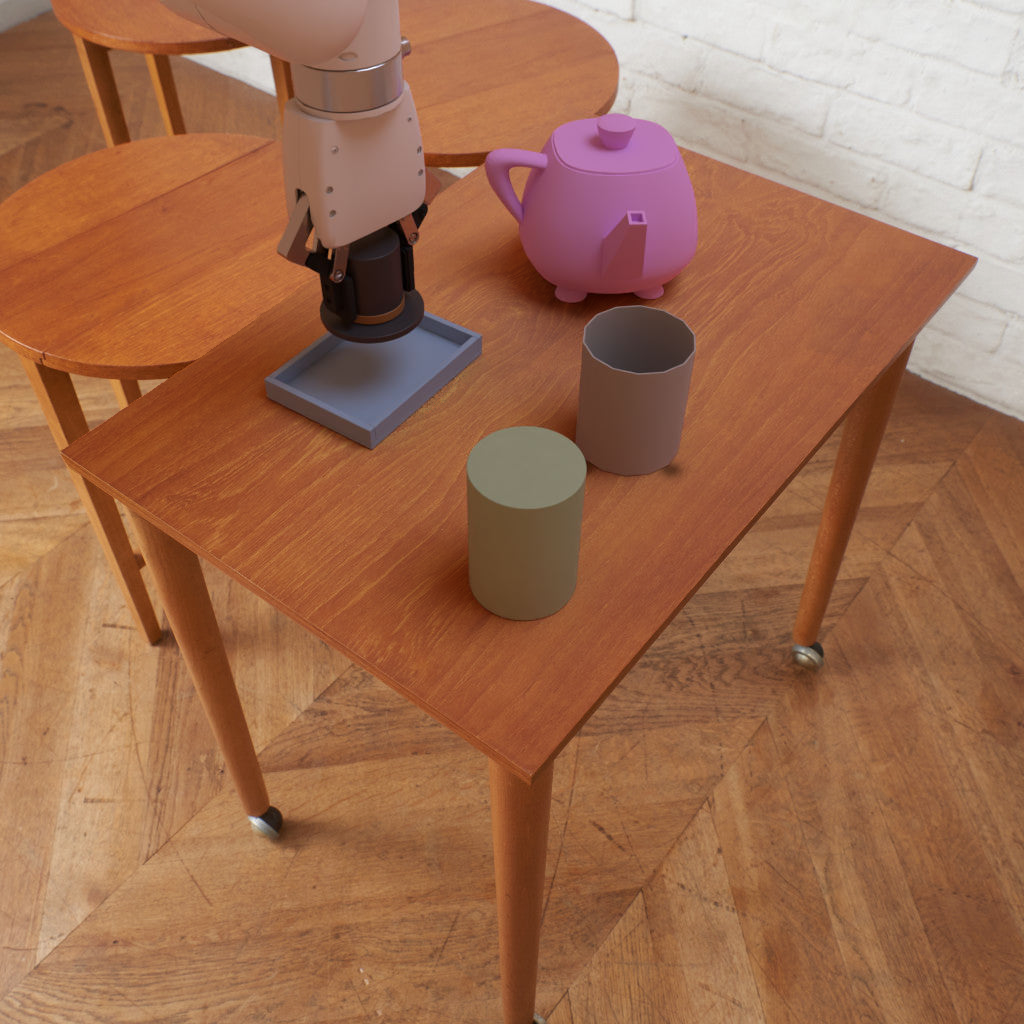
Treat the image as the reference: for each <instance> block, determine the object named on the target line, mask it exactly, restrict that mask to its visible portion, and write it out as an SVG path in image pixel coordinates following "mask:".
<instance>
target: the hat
mask: <svg viewBox="0 0 1024 1024" xmlns="http://www.w3.org/2000/svg"><path fill="white" fill-rule="evenodd" d="M346 275H348V276H349V277H351V278H352V280H353V286H354V294H355V303H356V311H357V318H356V320H355V321H354V322H352V323H348V322H346V321H345V320H343V319H342V318H340V317H339V316H338V315H336V314H335V313H332V312H330V311H329V310H328V309H327V308H326V307H325V305H324V302H323V299H322V300H321V302H320V305H319V315H320V316H319V317H320V321H321V324H322V325H323V327H324V328H325V330H326V331H327V332H328V331H329V332H330V333H331V334H333V335H334V336H336V337H338V338H340V339H343V340H346V341H350V342H354V343H363V344H374V343H383V342H388V341H392V340H395V339H398V338H400V337H403V336H405V335H407V334H408V333H410V332H411V331H413V330H414V329H415V328H416V327H417V326H418V325H419V324H420V322H421V321H422V319H423V316H424V311H425V301H424V298H423V296H422V294H421V293H420V292H419V291H418V290H417V289H416V288H415V289H414V290H412V291H410V292H408V291H405V290H403V281H402V268H401V255H400V242H399V237H398V235H397V234H396V232H395V231H394V230H392V229H390V228H389V227H386V226H385V227H383V228H381V229H379V230H377V231H374V232H372V233H370V234H368V235H366V236H364V237H362V238H360V239H358V240H356V241H353V242H351V243H350V248H349V254H348V261H347V267H346Z"/></svg>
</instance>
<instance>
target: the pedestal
mask: <svg viewBox="0 0 1024 1024" xmlns="http://www.w3.org/2000/svg"><path fill="white" fill-rule="evenodd" d="M465 470H466V471H465V472H466V509H467V549H468V551H467V552H468V554H467V555H468V579H469V580H468V583H469V587H470V590H471V593H472V595H473V597H474V598H475V599H476V601H477V602H478V603H479V604H480V605H481V606H482V607H483V608H484V609H486V610H487V611H489V612H490V613H492V614H494V615H495V616H498V617H500V618H504V619H508V620H513V621H535V620H540V619H543V618H547V617H550V616H551V615H553V614H555V613H557V612H559V611H560V610H561V609H563V608H564V607H565V606H566V605H567V604H568V603H569V602H570V600H572V598H573V596H574V595H575V592H576V589H577V584H578V583H577V582H578V571H579V561H580V559H579V558H580V551H581V538H582V526H583V518H584V517H583V516H584V504H585V492H586V483H587V471H588V469H587V460H586V459H585V458H584V456H583V454H582V452H581V451H580V449H579V448H578V447H577V446H576V444H575V442H574V441H572V440H571V439H570V438H569V437H567V436H565V435H563V434H561V433H559V432H557V431H556V430H552V429H548V428H546V427H540V426H531V425H522V426H521V425H518V426H510V427H505V428H502V429H499V430H495V431H494V432H492V433H489V434H488V435H486V436H484V437H483V438H482V439H480V440H479V441H478V442H477V443H476V444H475V445H474V446H473V447H472V449H471V450H470V452H469V454H468V456H467V460H466V466H465Z"/></svg>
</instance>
